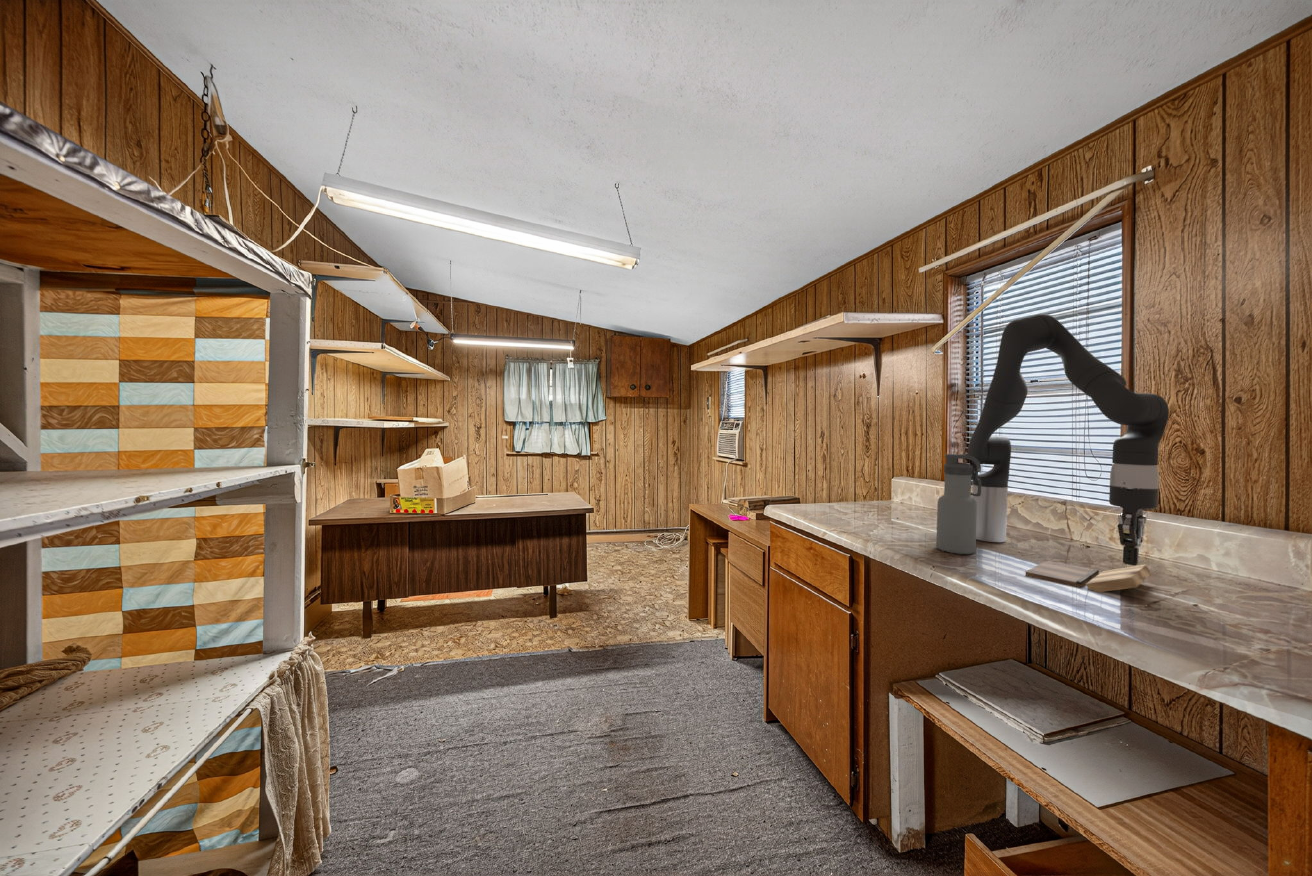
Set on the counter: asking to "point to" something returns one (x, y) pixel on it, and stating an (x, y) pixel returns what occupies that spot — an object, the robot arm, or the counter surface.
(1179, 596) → the counter surface
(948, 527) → the water bottle
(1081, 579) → the walnut board
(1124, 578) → the oak plank
